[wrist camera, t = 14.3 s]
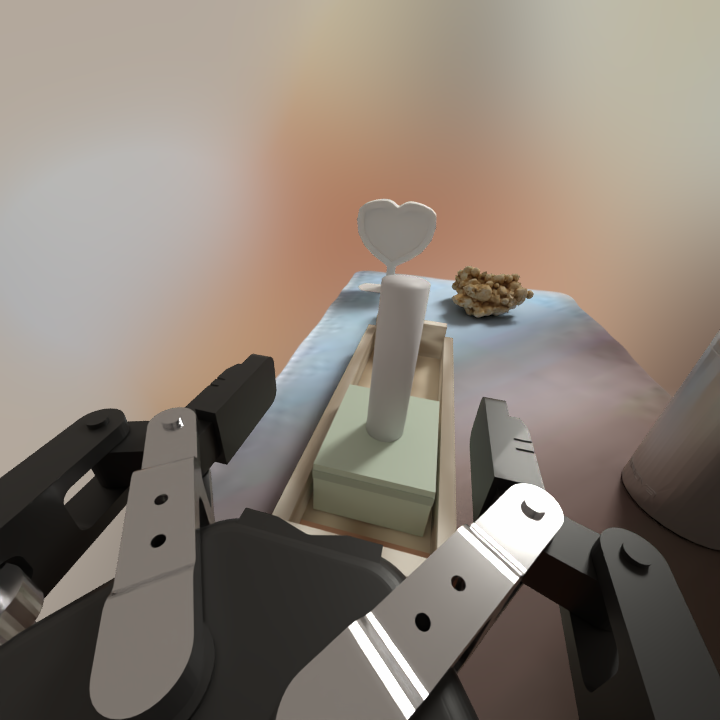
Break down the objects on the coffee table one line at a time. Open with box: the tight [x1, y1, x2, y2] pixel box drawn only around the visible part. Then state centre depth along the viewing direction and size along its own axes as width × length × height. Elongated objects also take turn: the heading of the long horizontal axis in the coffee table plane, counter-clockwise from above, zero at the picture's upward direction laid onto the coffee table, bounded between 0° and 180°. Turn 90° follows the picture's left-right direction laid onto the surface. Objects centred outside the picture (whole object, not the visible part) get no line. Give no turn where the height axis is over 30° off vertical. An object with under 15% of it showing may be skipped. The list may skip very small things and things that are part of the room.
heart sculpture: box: [357, 199, 436, 293], centre depth 70 cm, size 16×5×18 cm, turn 80°
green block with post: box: [312, 275, 439, 537], centre depth 25 cm, size 8×10×17 cm
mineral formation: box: [452, 266, 534, 318], centre depth 66 cm, size 8×13×15 cm
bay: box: [272, 315, 456, 578], centre depth 34 cm, size 12×34×6 cm, turn 167°
